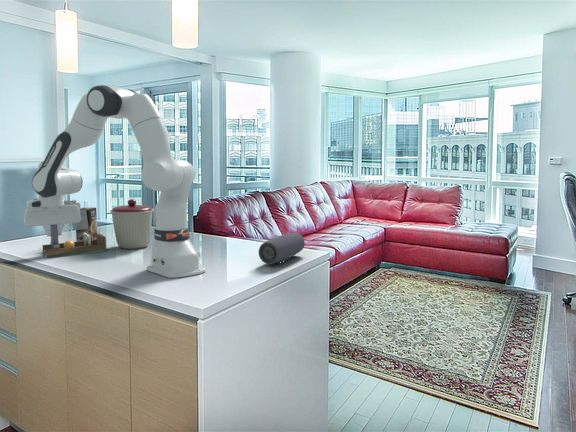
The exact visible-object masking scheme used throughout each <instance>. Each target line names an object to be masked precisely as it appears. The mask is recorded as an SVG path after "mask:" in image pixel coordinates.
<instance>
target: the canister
mask: <svg viewBox="0 0 576 432" xmlns="http://www.w3.org/2000/svg"><path fill="white" fill-rule="evenodd" d="M109 212H110V213H111V219H112V223H113V230H114V231H113V232H114V235H115V240H116V241H115V242H116V244H117V246H118V247H119V248H121V249H125V250H136V249H137V250H138V249H143V248H145V247H147V246H149V244H150V242H151V235H152V233H151V232H152V224H153V223H152V221H153V212H155V208H152V207H151V206H148V205H143V204H137V200H136V199H134V198H130V199H128V200H127V204H126V205H118V206H115V207H113V208H112V209H110V210H109Z"/></svg>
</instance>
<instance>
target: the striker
mask: <svg viewBox="0 0 576 432" xmlns="http://www.w3.org/2000/svg"><path fill="white" fill-rule="evenodd" d="M58 230H59V228H58V224H55V225H49V231H51V236H50V244H51V249H60V246H59V244H58V243H59V235H58Z"/></svg>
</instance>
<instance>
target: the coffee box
mask: <svg viewBox="0 0 576 432" xmlns="http://www.w3.org/2000/svg"><path fill="white" fill-rule="evenodd" d="M79 211H80V216H81V221H80V222H79V223H75V237H76V241H75V242H78V241H84V238H83V235H84V234H83V233H87V234H88V235H90V236H91V240H96V233H99V232H98V218H97V216H98V215H97V212H98V211H97V207H81V208H80V210H79ZM87 241H88V237H87Z"/></svg>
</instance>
